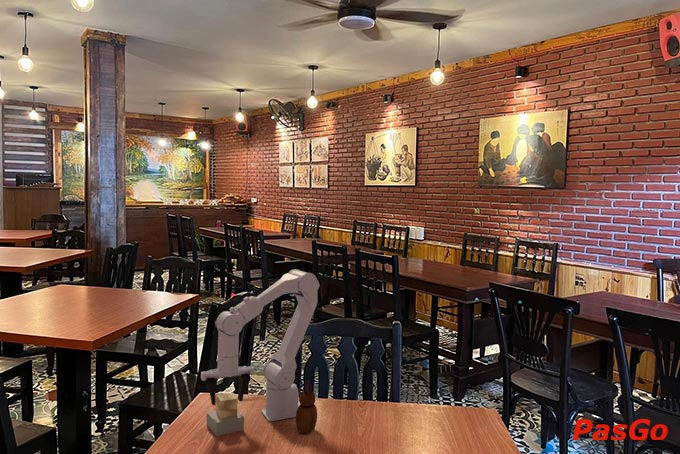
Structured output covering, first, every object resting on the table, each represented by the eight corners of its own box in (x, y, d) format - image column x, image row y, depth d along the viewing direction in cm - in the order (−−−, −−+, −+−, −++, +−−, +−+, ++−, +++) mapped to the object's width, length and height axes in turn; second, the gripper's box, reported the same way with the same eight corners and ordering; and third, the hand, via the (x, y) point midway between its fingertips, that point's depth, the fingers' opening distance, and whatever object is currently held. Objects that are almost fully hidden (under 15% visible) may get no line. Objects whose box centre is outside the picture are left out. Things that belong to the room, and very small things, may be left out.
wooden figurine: (313, 437, 140) (314, 383, 140) (292, 434, 141) (294, 381, 141) (318, 426, 147) (320, 375, 146) (299, 424, 148) (301, 373, 147)
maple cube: (232, 409, 148) (233, 392, 148) (237, 415, 144) (237, 398, 143) (216, 411, 146) (216, 394, 146) (220, 418, 142) (220, 400, 141)
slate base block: (233, 420, 150) (233, 406, 150) (243, 430, 143) (244, 416, 143) (206, 425, 146) (206, 412, 146) (216, 437, 139) (216, 422, 139)
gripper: (249, 348, 151) (247, 393, 152) (199, 353, 145) (198, 400, 145) (256, 355, 145) (254, 402, 145) (204, 360, 138) (203, 409, 139)
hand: (226, 401), depth 145 cm, fingers open, 7 cm apart
